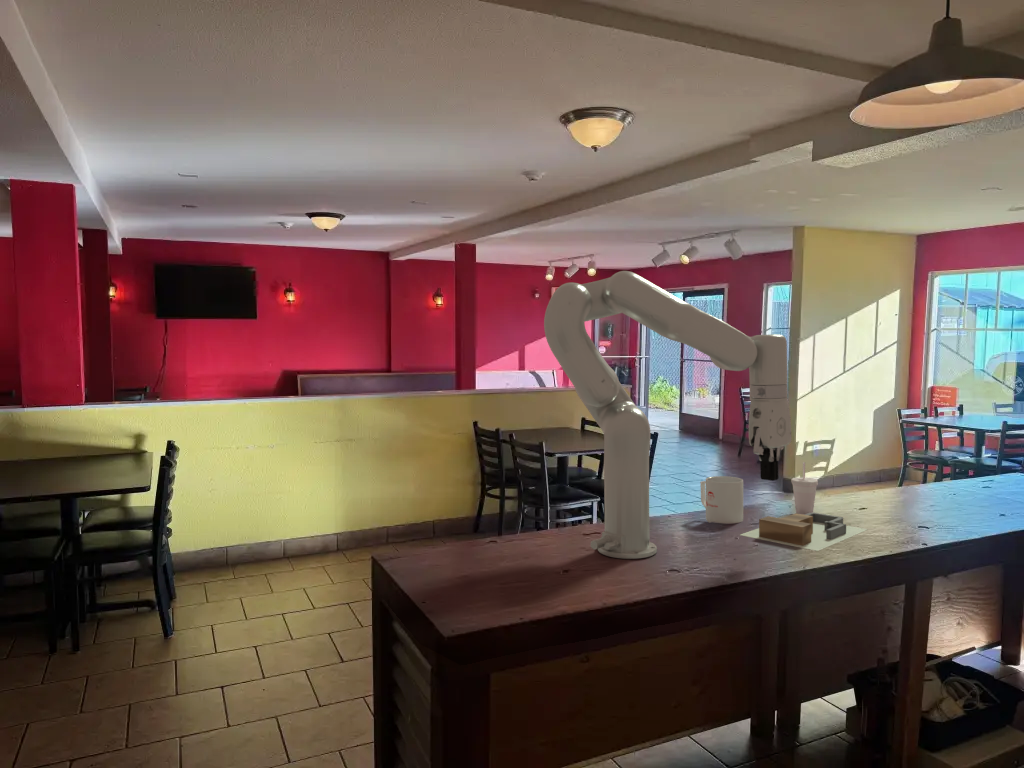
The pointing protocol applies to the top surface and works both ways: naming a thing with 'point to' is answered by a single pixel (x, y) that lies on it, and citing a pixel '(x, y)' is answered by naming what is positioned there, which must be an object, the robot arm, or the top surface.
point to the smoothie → (804, 493)
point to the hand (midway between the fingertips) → (769, 479)
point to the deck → (819, 532)
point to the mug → (723, 499)
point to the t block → (787, 528)
